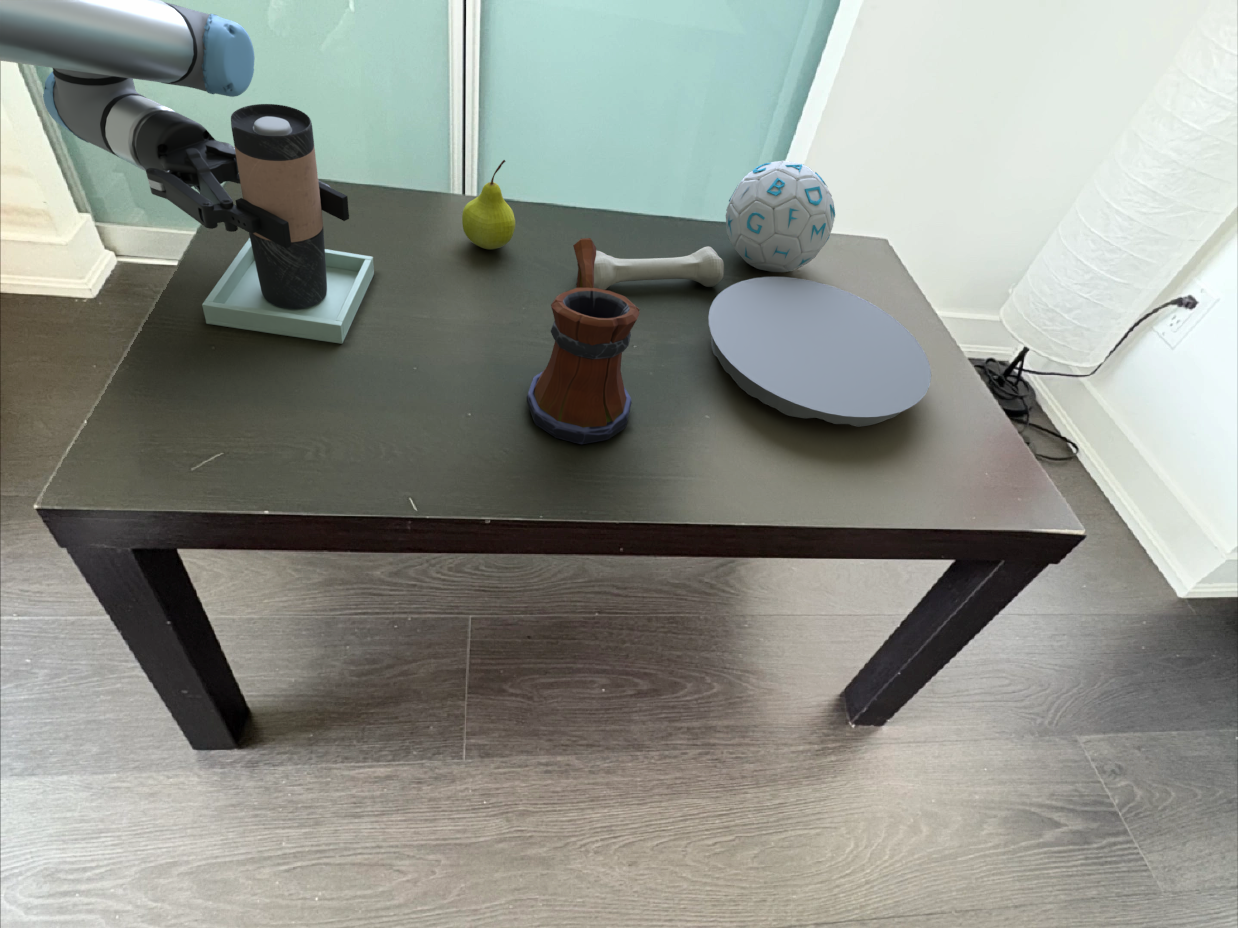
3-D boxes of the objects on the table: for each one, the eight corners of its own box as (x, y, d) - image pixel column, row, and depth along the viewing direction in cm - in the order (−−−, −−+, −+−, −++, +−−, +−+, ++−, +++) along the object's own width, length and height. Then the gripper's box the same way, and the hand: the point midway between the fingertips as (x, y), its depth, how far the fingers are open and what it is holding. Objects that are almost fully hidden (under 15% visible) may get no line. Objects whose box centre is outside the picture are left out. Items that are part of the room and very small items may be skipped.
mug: (522, 339, 94) (534, 225, 84) (616, 346, 96) (639, 235, 86) (527, 444, 82) (541, 326, 71) (635, 449, 84) (665, 335, 73)
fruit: (468, 261, 104) (472, 174, 95) (455, 234, 108) (457, 148, 100) (518, 257, 106) (526, 173, 98) (503, 231, 111) (510, 148, 102)
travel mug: (343, 287, 94) (328, 118, 80) (302, 318, 88) (279, 144, 74) (287, 265, 95) (263, 96, 81) (244, 295, 89) (210, 119, 75)
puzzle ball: (830, 270, 119) (869, 176, 108) (780, 304, 110) (817, 205, 99) (748, 226, 124) (777, 132, 114) (694, 256, 115) (720, 156, 105)
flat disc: (749, 454, 86) (761, 424, 83) (670, 305, 105) (678, 276, 101) (957, 437, 95) (975, 410, 92) (851, 303, 113) (863, 276, 110)
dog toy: (585, 299, 102) (591, 266, 99) (573, 273, 106) (578, 240, 102) (724, 294, 109) (734, 263, 105) (708, 270, 113) (717, 239, 109)
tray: (342, 343, 88) (340, 325, 86) (206, 323, 86) (201, 304, 84) (374, 274, 98) (373, 256, 96) (253, 254, 97) (249, 236, 95)
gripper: (243, 150, 98) (386, 220, 92) (88, 204, 84) (244, 290, 79) (232, 88, 93) (383, 158, 87) (65, 135, 79) (231, 222, 73)
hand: (317, 221), depth 83 cm, fingers closed on travel mug, 7 cm apart
